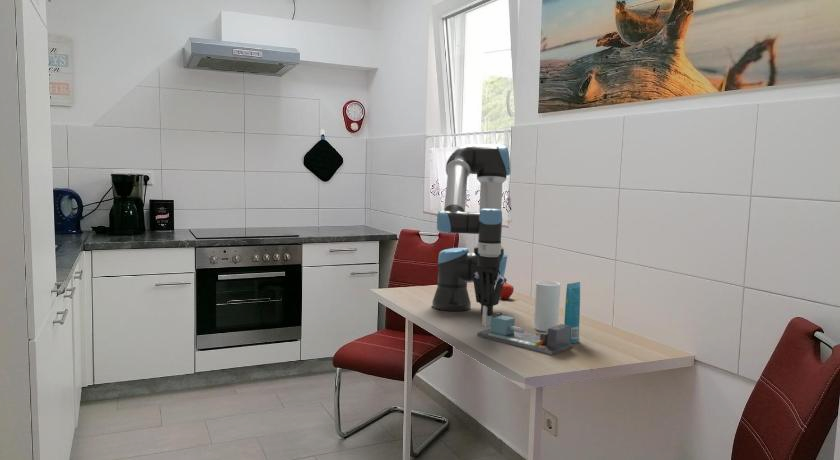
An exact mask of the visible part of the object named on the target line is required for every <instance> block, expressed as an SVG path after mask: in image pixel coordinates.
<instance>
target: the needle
mask: <svg viewBox="0 0 840 460" xmlns="http://www.w3.org/2000/svg"><path fill="white" fill-rule="evenodd" d="M539 336H540V341H537V342H535V345H540V344H547V339H548V332H546V331H543V332H541V333H540V335H539Z"/></svg>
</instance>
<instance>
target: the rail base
mask: <svg viewBox="0 0 840 460" xmlns="http://www.w3.org/2000/svg"><path fill="white" fill-rule="evenodd" d="M477 337H480V338H483V339H488V340H491V341H495V342H500V343H504V344H508V345H510V346H516V347H519V348H522V349H526V350H530V351H535V352H538V353H542V354H546V355H549V356H553V355H556V354H559V353H561V352H564V351H567V350H570V349H572V348H573V343H569V339H570V326H568V325H564V323H561V324H558V325H557V326H554V327H551V328H548V339H547V344H540V345H535V342H537V341H540V335H538V334H532V333H530V332H525V331H524V333H520V332H516V331H514V333H512V334H509V335H501V334H497V333H493V332H490V328H488V329H485V330H481V331H478V332H477Z"/></svg>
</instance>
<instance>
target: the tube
mask: <svg viewBox="0 0 840 460" xmlns="http://www.w3.org/2000/svg"><path fill="white" fill-rule="evenodd" d="M565 294H566V295H565V306H564V307H565V308H564V323H563V325H568V326H570V339H569V343H571V344H577V343H579V341H580V317H581V315H580V314H581V313H580V309H581V282H580V281H576V282H572V283H571V282H570V283H567V284H566V292H565Z"/></svg>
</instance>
